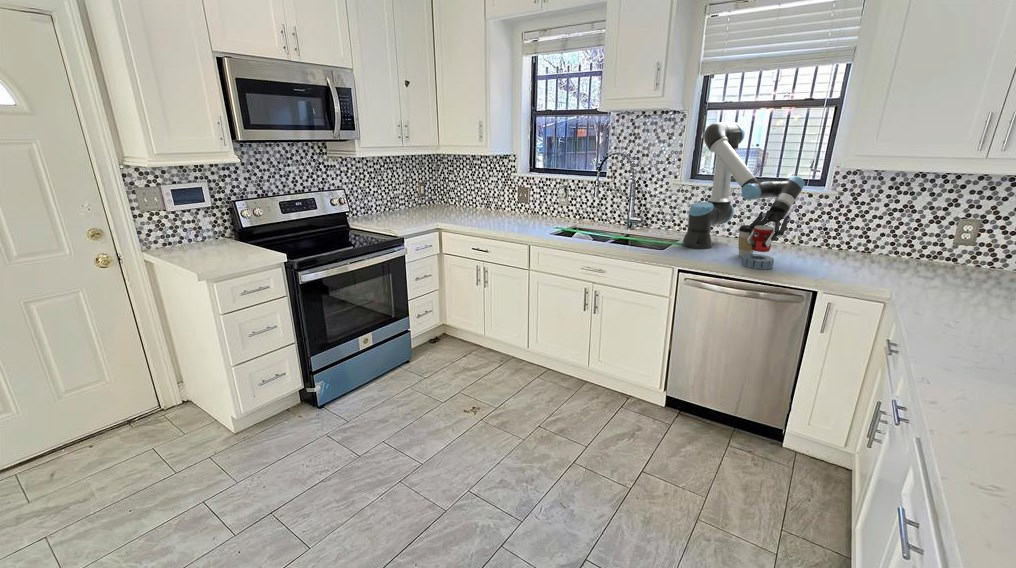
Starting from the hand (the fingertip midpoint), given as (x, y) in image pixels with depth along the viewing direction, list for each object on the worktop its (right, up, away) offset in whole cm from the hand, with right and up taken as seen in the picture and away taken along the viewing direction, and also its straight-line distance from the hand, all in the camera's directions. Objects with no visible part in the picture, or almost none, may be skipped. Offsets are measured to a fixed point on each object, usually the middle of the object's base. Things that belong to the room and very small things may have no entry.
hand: (757, 243), depth 216 cm
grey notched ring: (+3, -10, +6) cm, 12 cm away
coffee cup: (+6, -4, +22) cm, 23 cm away
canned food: (+3, -3, +3) cm, 5 cm away
